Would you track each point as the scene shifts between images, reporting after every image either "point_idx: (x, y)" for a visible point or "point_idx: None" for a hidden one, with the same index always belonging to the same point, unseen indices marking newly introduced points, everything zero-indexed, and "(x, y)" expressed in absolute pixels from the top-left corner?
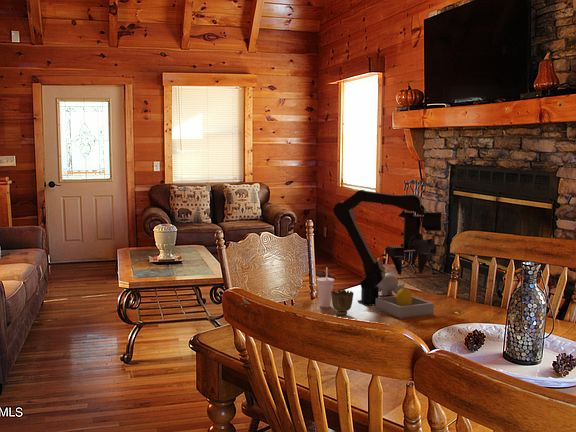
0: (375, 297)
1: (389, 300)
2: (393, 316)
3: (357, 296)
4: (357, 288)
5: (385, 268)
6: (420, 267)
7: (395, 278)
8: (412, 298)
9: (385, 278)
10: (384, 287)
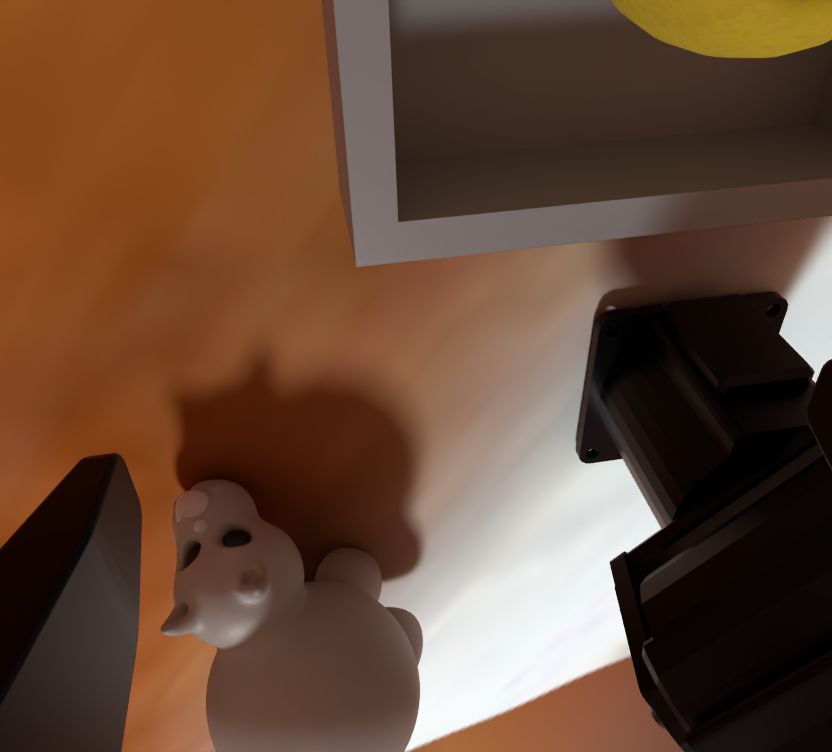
0: (741, 338)
1: (708, 168)
2: None
3: (583, 571)
4: (419, 729)
5: (693, 744)
6: (100, 619)
7: (267, 711)
8: (390, 79)
9: (395, 710)
10: (390, 614)
